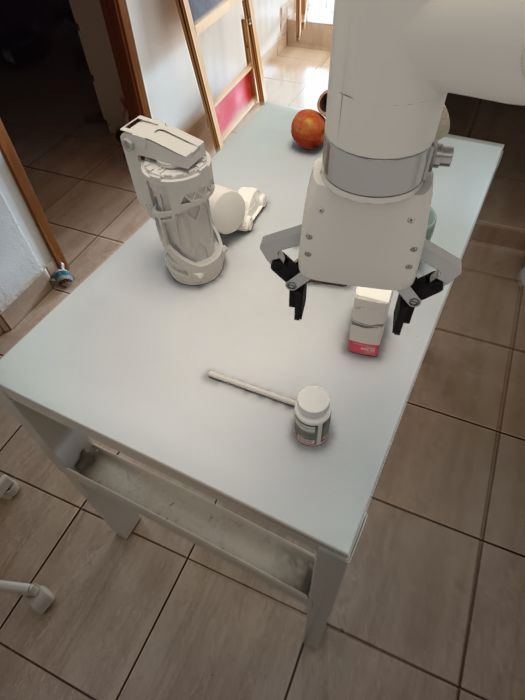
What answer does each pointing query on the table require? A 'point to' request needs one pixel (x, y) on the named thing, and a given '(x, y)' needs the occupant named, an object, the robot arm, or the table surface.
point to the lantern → (176, 196)
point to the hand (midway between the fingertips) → (347, 317)
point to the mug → (226, 209)
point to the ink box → (368, 320)
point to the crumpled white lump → (251, 205)
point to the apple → (308, 128)
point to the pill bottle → (312, 415)
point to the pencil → (252, 388)
